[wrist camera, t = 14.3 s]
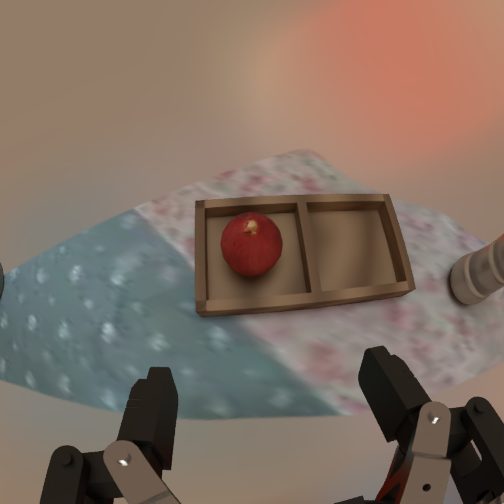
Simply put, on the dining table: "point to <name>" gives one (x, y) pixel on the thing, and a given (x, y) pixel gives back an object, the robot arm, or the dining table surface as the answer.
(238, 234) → the pomegranate
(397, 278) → the walnut tray
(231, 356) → the dining table surface
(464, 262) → the plastic bottle
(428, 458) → the robot arm
